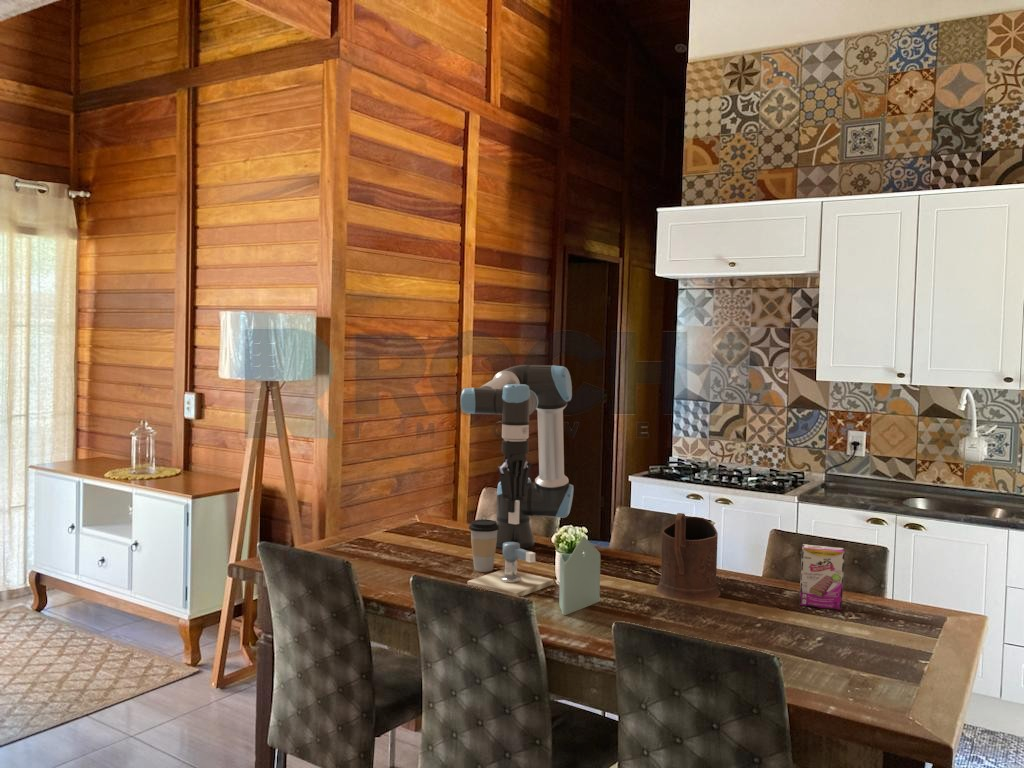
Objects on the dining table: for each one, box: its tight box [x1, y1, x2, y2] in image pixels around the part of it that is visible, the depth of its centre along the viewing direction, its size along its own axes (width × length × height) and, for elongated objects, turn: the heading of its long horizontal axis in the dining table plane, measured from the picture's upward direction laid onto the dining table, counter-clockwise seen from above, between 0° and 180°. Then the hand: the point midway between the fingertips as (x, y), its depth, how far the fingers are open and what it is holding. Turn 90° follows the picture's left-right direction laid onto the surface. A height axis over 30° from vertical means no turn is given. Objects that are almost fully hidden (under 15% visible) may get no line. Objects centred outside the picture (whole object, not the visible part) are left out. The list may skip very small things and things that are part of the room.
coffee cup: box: [468, 518, 499, 573], centre depth 270 cm, size 9×9×15 cm
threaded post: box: [500, 559, 521, 583], centre depth 253 cm, size 6×6×6 cm
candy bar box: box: [799, 543, 845, 611], centre depth 239 cm, size 11×5×16 cm, turn 71°
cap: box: [502, 542, 536, 563], centre depth 250 cm, size 12×5×4 cm, turn 38°
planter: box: [558, 535, 601, 616], centre depth 235 cm, size 16×8×20 cm, turn 140°
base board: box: [466, 568, 554, 597], centre depth 254 cm, size 18×18×2 cm
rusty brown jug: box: [655, 512, 722, 602], centre depth 248 cm, size 18×24×25 cm
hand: (513, 523), depth 242 cm, fingers closed
